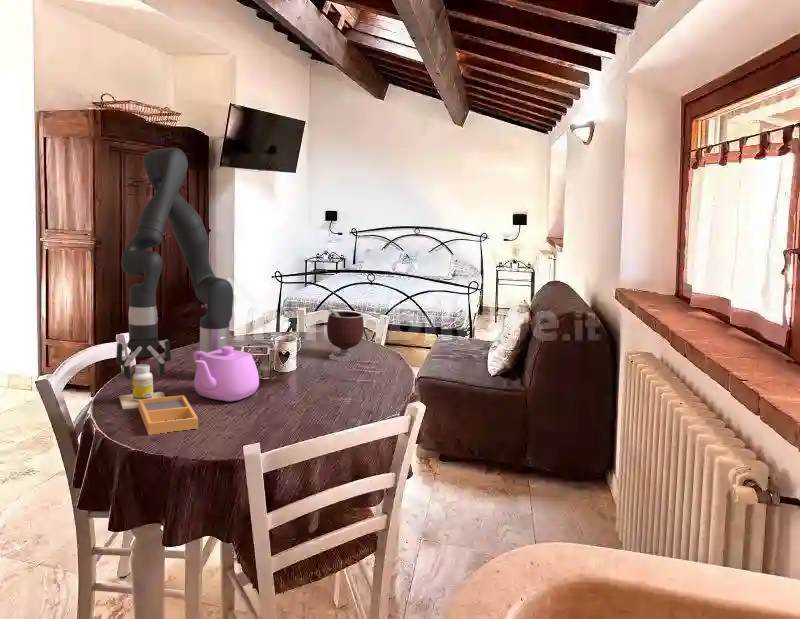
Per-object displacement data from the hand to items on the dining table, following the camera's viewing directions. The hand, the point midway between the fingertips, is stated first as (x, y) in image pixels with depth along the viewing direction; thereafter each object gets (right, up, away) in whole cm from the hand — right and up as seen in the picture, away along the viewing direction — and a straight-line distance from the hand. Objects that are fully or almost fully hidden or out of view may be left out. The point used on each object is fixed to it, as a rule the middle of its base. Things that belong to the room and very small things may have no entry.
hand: (144, 376), depth 182 cm
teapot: (+20, -7, +11) cm, 24 cm away
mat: (-1, -7, +1) cm, 7 cm away
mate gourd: (+51, 0, +63) cm, 81 cm away
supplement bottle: (-1, -7, +1) cm, 7 cm away
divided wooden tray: (+11, -10, -11) cm, 19 cm away
